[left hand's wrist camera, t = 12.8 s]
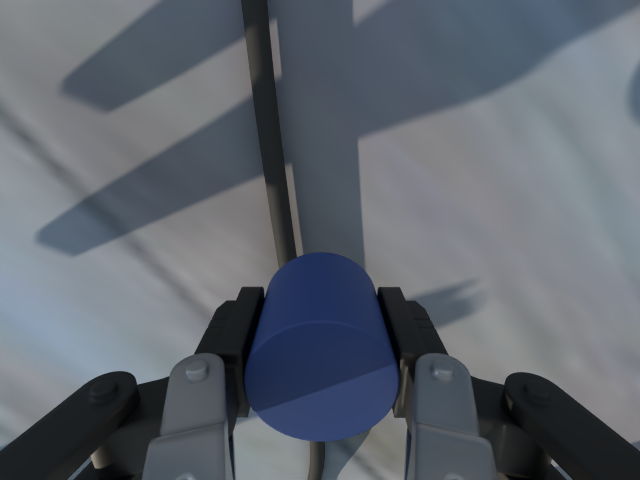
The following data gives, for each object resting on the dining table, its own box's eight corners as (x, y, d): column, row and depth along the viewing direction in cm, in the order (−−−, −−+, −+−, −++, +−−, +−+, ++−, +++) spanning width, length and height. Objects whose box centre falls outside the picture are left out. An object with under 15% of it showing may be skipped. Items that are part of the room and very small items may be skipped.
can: (262, 340, 13) (238, 434, 10) (271, 244, 12) (248, 311, 8) (364, 351, 14) (382, 449, 10) (386, 259, 12) (417, 332, 8)
